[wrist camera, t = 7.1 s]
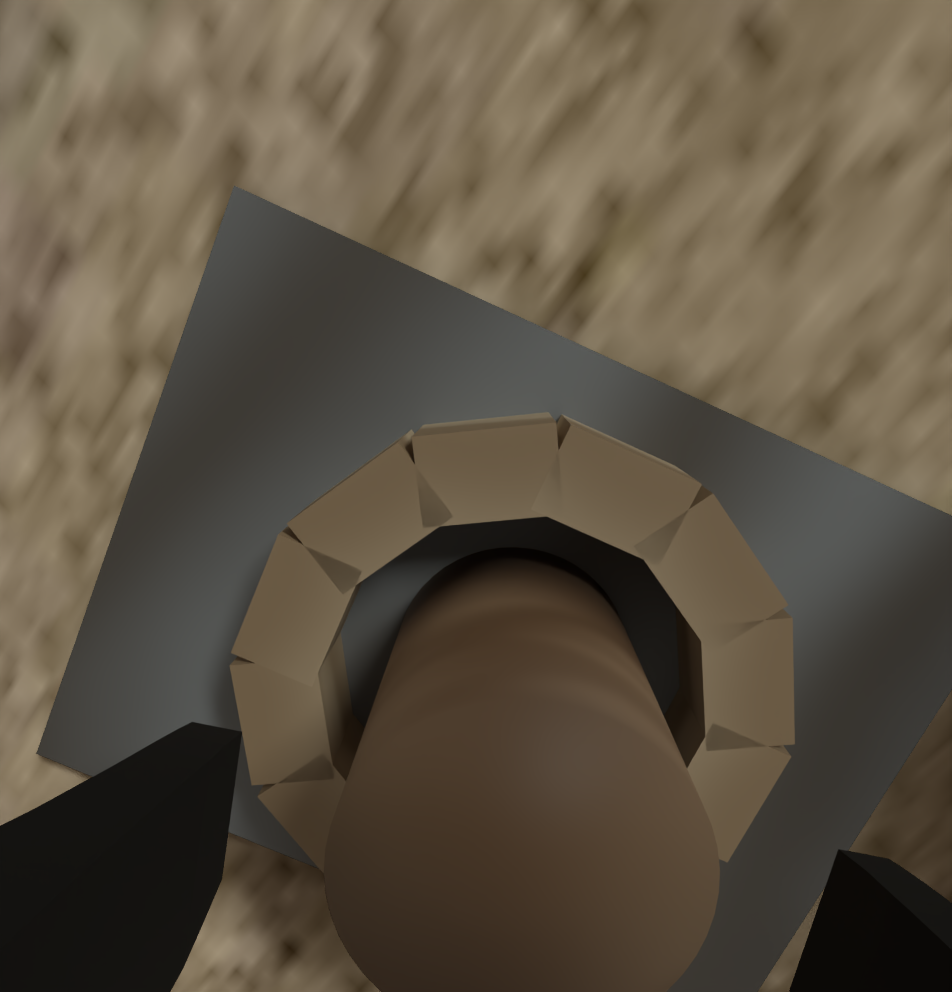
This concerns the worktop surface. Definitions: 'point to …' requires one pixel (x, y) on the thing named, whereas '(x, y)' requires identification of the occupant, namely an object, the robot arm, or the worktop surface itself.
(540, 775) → the walnut peg
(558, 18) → the worktop surface
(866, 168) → the worktop surface
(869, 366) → the worktop surface
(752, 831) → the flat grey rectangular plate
